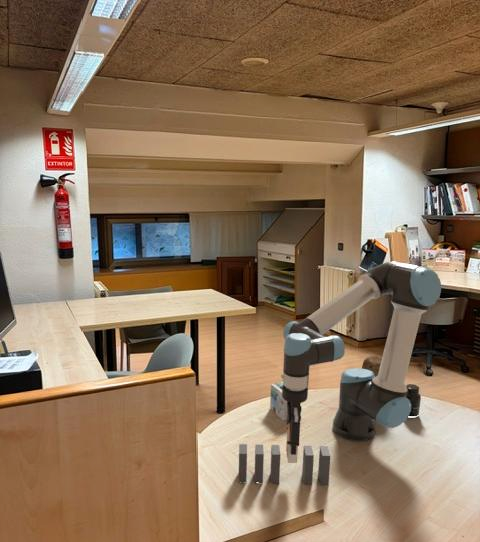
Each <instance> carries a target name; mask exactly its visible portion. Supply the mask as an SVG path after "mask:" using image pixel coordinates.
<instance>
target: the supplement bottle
mask: <svg viewBox="0 0 480 542" xmlns="http://www.w3.org/2000/svg"><path fill="white" fill-rule="evenodd" d="M405 386H406V387H407V394H406V398H408V400H409V401H410V404H411V411H410V414H409V416H417V415H419V416H420V408H421V400H422V396H421V394H420V387H419V386H418V385H416V384H412V383H410V384H406V385H405Z"/></svg>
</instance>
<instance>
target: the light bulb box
mask: <svg viewBox="0 0 480 542" xmlns="http://www.w3.org/2000/svg"><path fill="white" fill-rule="evenodd" d="M282 386H283V381H280V382H275V383H272V384H270V402H269V409H270V410H271V411H272V412H273V413H274V414H275V413H276V414H275V415H276V416H277V417H278V418H280V419H281V420H282V421H283V422H285V421H287V401H286V400H284V399H283V397H282Z"/></svg>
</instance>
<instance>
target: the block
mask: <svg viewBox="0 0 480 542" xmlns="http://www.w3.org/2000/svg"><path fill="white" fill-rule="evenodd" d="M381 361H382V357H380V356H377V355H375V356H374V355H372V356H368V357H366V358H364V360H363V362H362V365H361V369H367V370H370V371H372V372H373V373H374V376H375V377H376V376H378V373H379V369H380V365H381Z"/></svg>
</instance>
